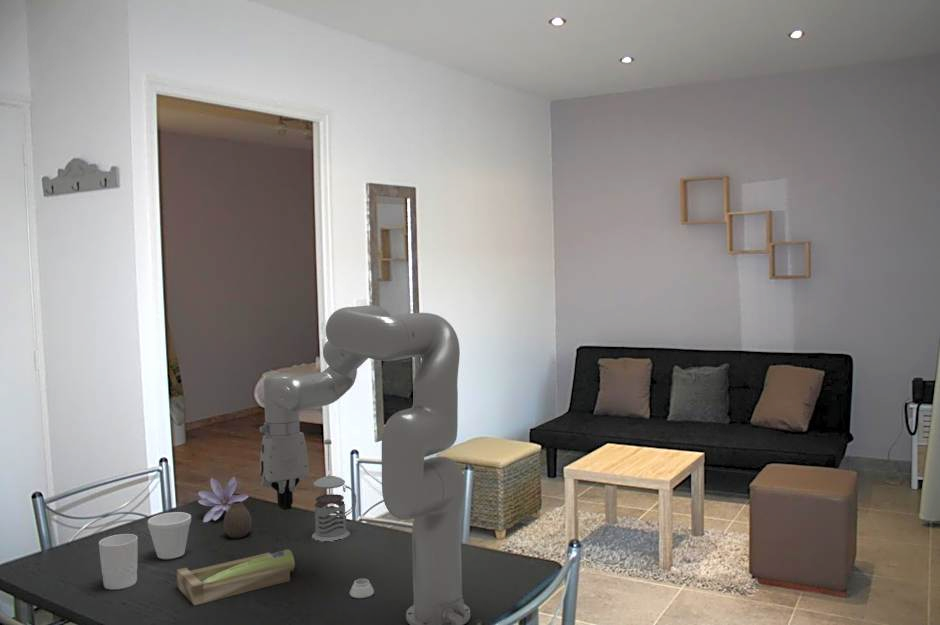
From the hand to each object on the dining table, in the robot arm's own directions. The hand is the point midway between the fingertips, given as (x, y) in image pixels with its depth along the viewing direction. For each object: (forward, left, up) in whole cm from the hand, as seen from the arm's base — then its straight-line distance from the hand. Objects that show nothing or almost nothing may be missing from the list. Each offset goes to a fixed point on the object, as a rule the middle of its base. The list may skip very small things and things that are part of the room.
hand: (285, 508), depth 187 cm
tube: (-1, -1, -12) cm, 12 cm away
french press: (+16, -20, -15) cm, 29 cm away
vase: (+31, 0, -15) cm, 34 cm away
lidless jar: (-22, -7, -15) cm, 28 cm away
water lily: (+49, -1, -15) cm, 51 cm away
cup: (+27, +18, -15) cm, 36 cm away
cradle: (0, +11, -14) cm, 18 cm away
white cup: (+16, +32, -15) cm, 39 cm away
